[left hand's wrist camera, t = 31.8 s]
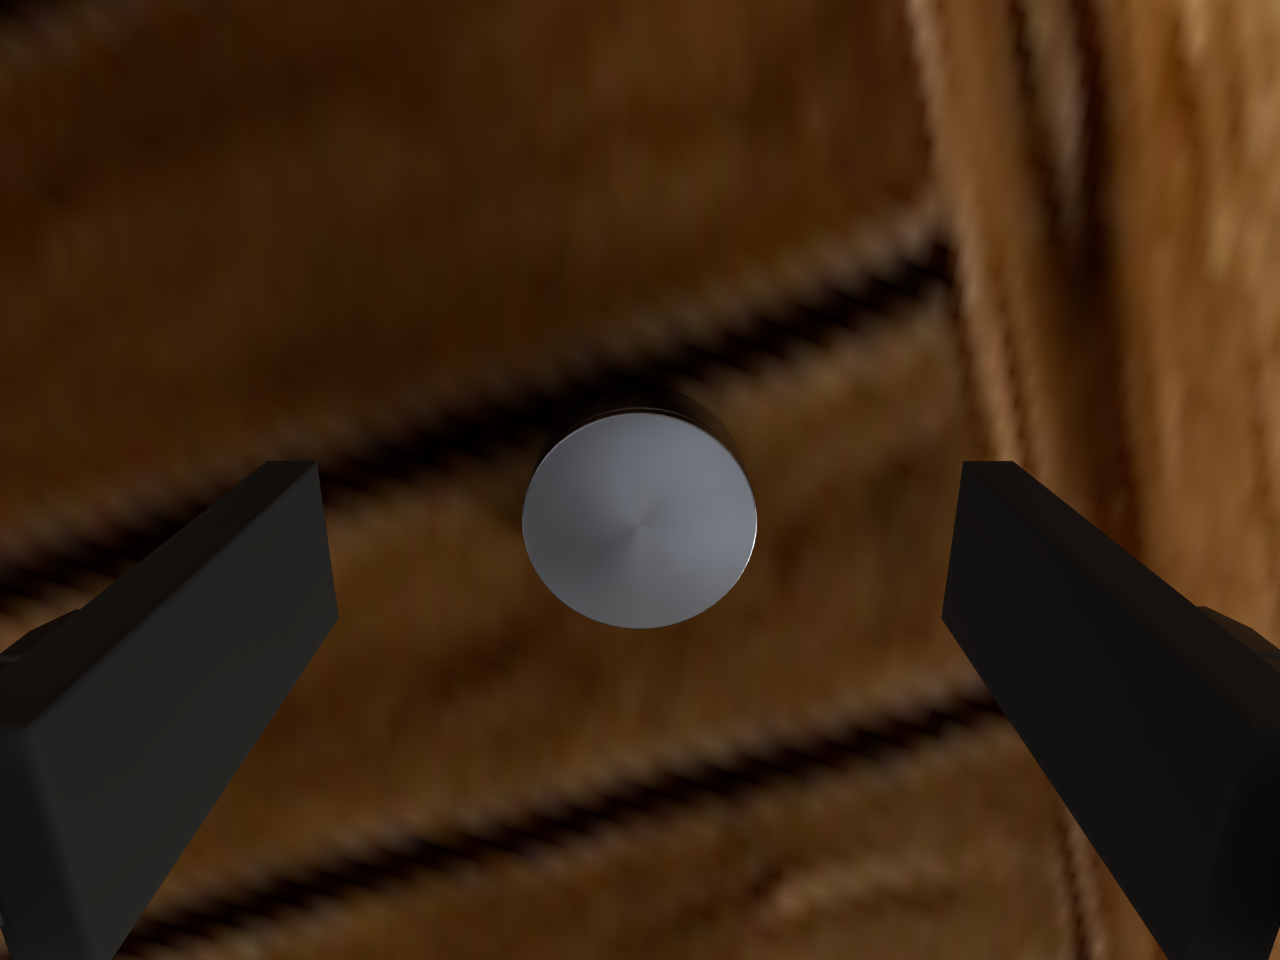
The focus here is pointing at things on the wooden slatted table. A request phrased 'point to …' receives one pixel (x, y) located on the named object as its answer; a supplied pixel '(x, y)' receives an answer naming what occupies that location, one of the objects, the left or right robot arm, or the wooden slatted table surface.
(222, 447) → the wooden slatted table surface
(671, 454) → the cap
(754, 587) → the wooden slatted table surface
